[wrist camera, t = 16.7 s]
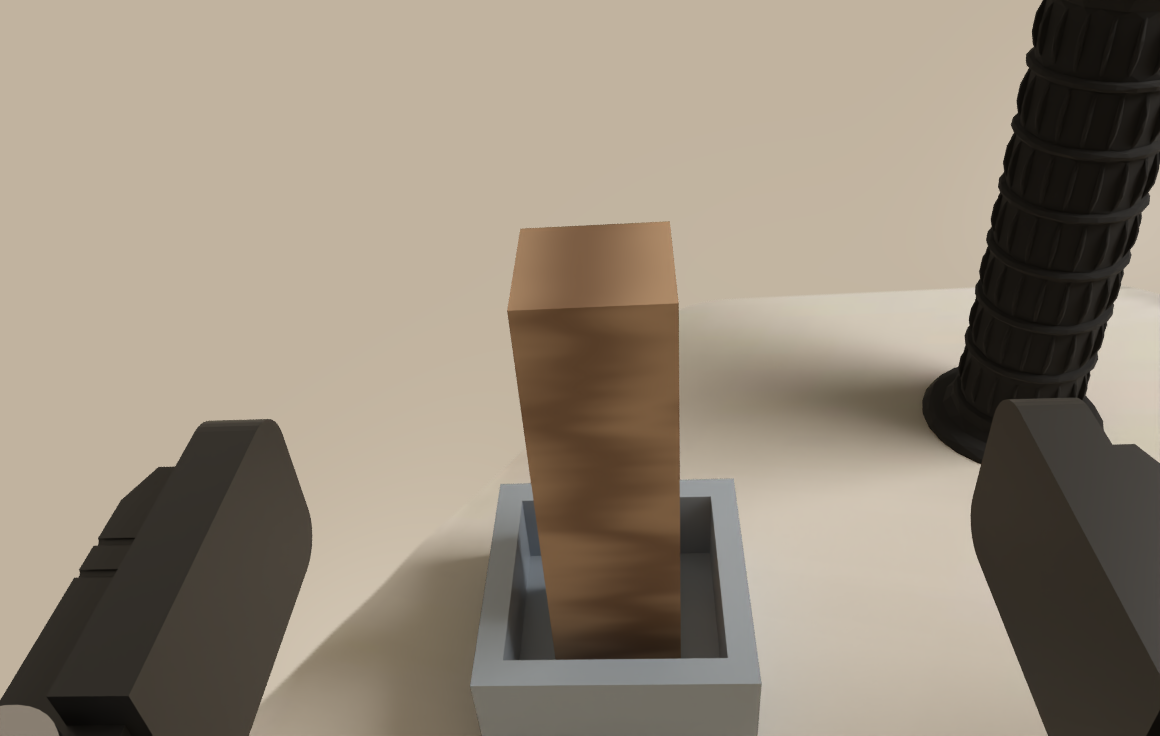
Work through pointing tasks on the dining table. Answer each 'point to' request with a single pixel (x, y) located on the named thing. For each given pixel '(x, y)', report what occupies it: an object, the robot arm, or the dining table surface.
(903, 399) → the dining table surface
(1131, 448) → the robot arm
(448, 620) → the dining table surface
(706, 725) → the box
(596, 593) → the walnut handle block
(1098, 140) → the handle grip
